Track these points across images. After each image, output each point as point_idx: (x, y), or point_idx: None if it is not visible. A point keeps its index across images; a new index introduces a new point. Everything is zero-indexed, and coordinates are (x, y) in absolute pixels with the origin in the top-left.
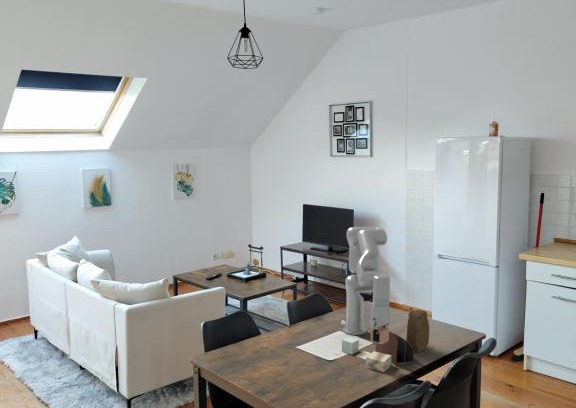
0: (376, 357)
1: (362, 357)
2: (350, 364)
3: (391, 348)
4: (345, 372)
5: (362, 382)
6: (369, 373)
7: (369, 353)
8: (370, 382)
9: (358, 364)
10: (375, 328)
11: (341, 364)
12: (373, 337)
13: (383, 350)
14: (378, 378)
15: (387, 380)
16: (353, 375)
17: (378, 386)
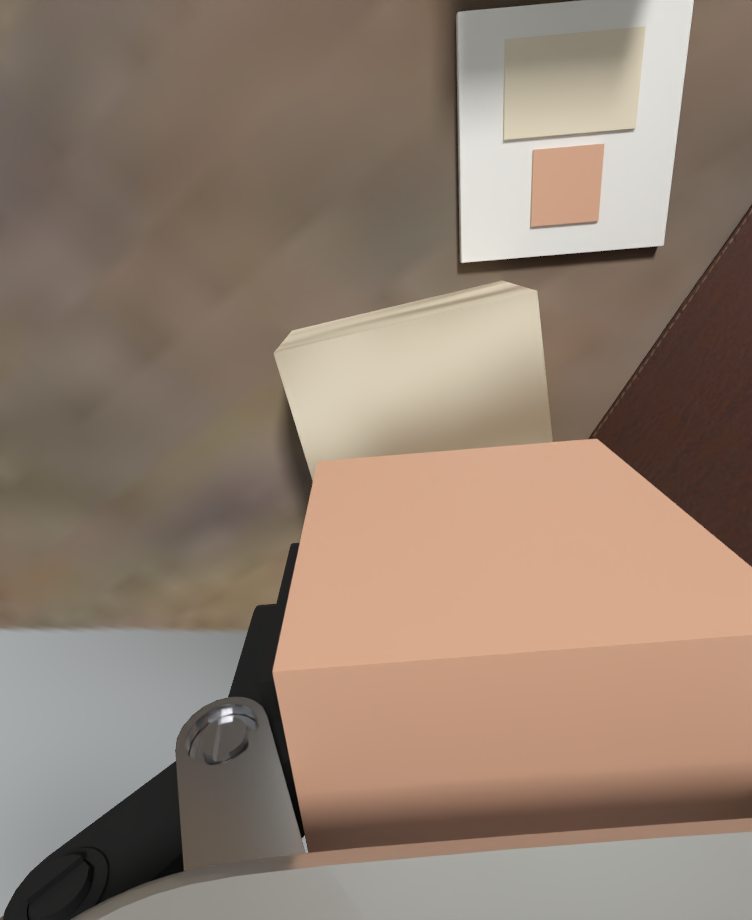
0: (379, 443)
1: (478, 125)
2: (210, 143)
3: (677, 494)
4: (7, 256)
5: (19, 511)
6: (210, 445)
7: (658, 105)
8: (83, 553)
9: (289, 219)
10: (429, 747)
11: (112, 47)
12: (246, 636)
13: (745, 283)
14: (199, 553)
15: (232, 616)
16: (39, 366)
17: (90, 628)
